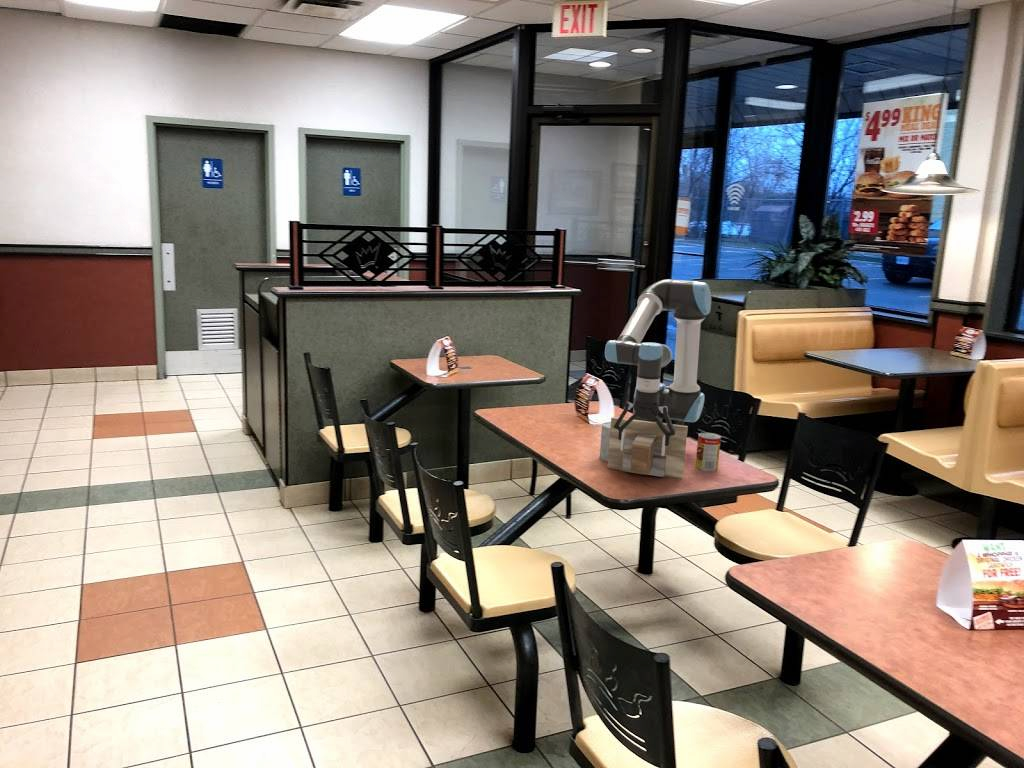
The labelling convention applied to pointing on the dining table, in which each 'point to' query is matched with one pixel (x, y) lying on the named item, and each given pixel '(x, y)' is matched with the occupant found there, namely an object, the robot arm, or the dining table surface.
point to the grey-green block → (605, 441)
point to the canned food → (708, 451)
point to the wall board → (661, 465)
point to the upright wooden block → (642, 454)
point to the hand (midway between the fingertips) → (642, 452)
